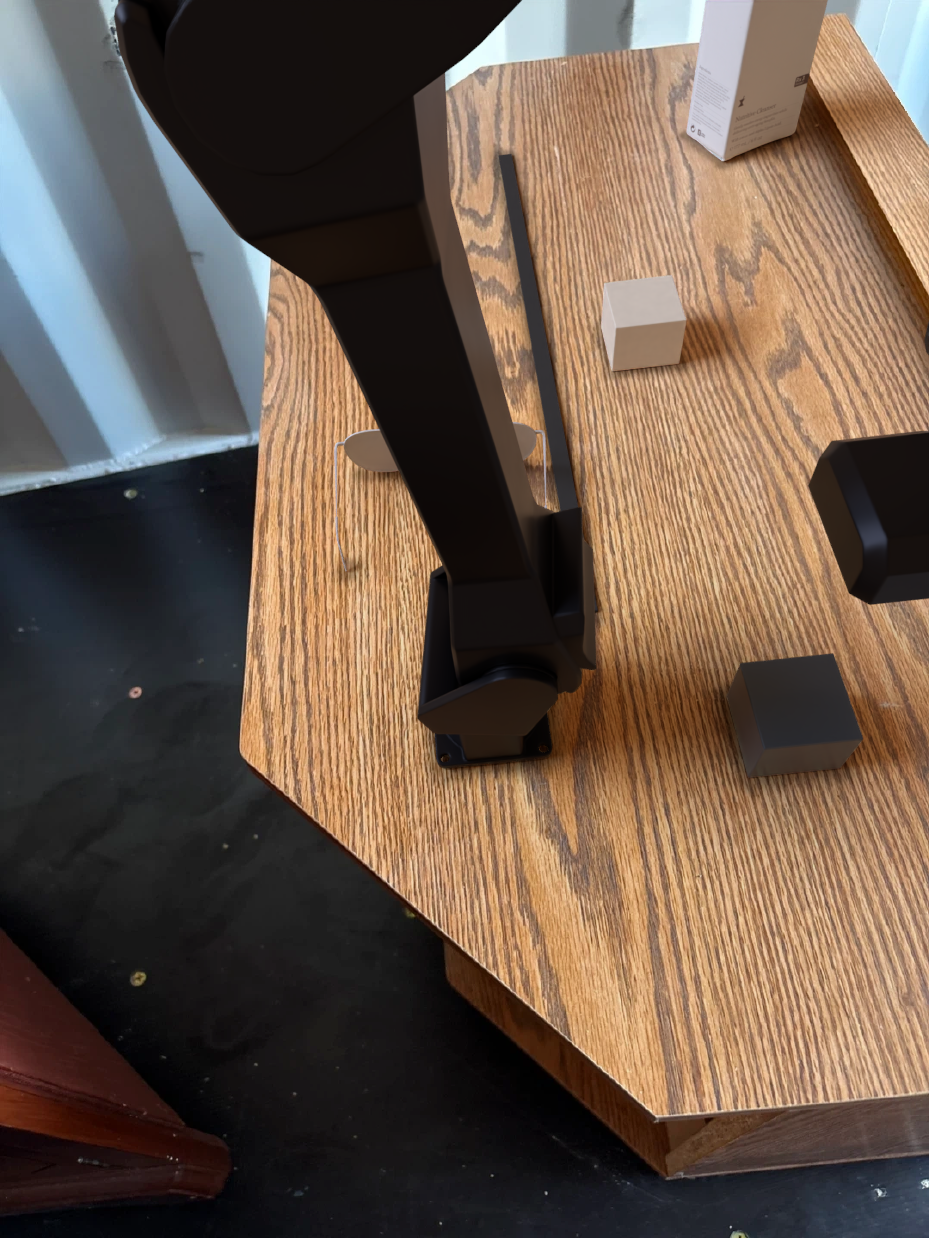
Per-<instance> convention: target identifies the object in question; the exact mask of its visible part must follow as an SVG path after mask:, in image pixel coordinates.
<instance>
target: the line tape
mask: <svg viewBox="0 0 929 1238" xmlns="http://www.w3.org/2000/svg"><path fill="white" fill-rule="evenodd" d="M498 163H499V167H500V172H501V178H502V184H503V190H504V196H505V201H506V206H507V213H508V218H509V219H508V220H509V225H510V229H511V236H512V242H513V247H514V253H515V259H516V265H517V270H518V271H517V272H518V275H519V276H518V277H519V281H520V288H521V294H522V299H523V304H524V311H525V316H526V323H527V327H528V333H529V334H528V335H529V339H530V346H531V350H532V357H533V362H534V367H535V373H536V379H537V385H538V386H537V387H538V391H539V397H540V402H541V408H542V413H543V419H544V425H545V431H546V436H547V443H548V448H549V454H550V459H551V465H552V472H553V476H554V482H555V488H556V495H557V500H558V505H559V511H564V510H568V509H572V508H577V507H579V504H578V499H577V492H576V488H575V482H574V477H573V472H572V467H571V462H570V455H569V451H568V446H567V439H566V435H565V429H564V424H563V418H562V414H561V408H560V402H559V397H558V391H557V386H556V382H555V376H554V371H553V366H552V360H551V355H550V349H549V345H548V338H547V334H546V330H545V329H546V327H545V323H544V318H543V312H542V308H541V302H540V296H539V292H538V286H537V281H536V275H535V271H534V266H533V259H532V255H531V249H530V244H529V239H528V233H527V228H526V223H525V218H524V212H523V206H522V202H521V196H520V191H519V186H518V180H517V175H516V169H515V165H514V159H513V154H512V153H506V154H505V153H504V154H499V155H498ZM583 538H584V539H585V536H584V534H583ZM596 599H597V598H596V594H595V592H594V600H595V613H598V611H599V609H598V604H597V600H596Z"/></svg>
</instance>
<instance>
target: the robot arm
mask: <svg viewBox="0 0 929 1238" xmlns="http://www.w3.org/2000/svg"><path fill="white" fill-rule="evenodd" d="M522 1H523V0H117V5H116V7H115V8H114V14H113V19H114V26H115V33H116V39H117V44H118V50H119V54H120V57H121V59H122V62H123V65H124V67H125V70H126V72H127V76H128V78H129V80H130V83H131V86H132V88H133V90H134V92H135V94H136V96H137V98H138V99H139V101H140V103H141V105H142V106H143V108H144V109H145V111H146V113H147V114H148V115H149V117H150V118H151V120H152V122H153V123H154V125H155V126H156V128H158V130H159V131H160V133H161V134H162V135H163V137H164V138H165V140H166V141H167V143H168V144H169V145H170V146H171V148H172V149H173V150H174V152H175V153H176V155H177V156H178V157H179V159H180V160H181V162H182V163H183V165H184V166H185V167H186V168H187V170H188V171H189V172H190V174H191V175H192V177H193V178H194V179H195V181H196V182H197V183H198V185H199V186H200V187H201V189H202V191H204V193H205V194H206V196H207V197H208V199H209V200H210V201H211V202H212V205H214V207H215V208H216V210H217V211H218V212H219V213H220V215H221V216H222V217H223V219H224V220H225V222H226V224H227V225H228V226H229V227H230V229H231V230H232V231H233V233H234V234H235V235H237V237H239V239H241V240H243V242H245V243H246V244H248V245H250V246H251V247H253V248H254V249H255V250H257V251H258V252H260V253H261V254H263V255H264V256H266V257H267V258H269V259H270V260H272V261H274V262H275V263H276V264H278V265H279V266H280V267H282V268H283V269H285V270H287V271H288V272H290V273H291V274H292V275H294V276H296V277H297V278H298V279H300V280H302V281H303V282H305V283H306V284H307V286H309V288H310V289H311V291H312V292H313V294H314V295H315V296H316V298H317V299H318V301H319V303H320V305H321V307H322V309H323V311H324V313H325V316H326V318H327V320H328V322H329V324H330V326H331V329H332V331H333V333H334V336H335V337H336V339H337V342H338V343H339V346H340V348H341V350H342V353H343V354H344V356H345V359H346V360H347V363H348V366H349V367H350V369H351V372H352V374H353V376H354V378H355V380H356V383H357V385H358V386H359V389H360V391H361V393H362V395H363V397H364V400H365V402H366V404H367V406H368V408H369V410H370V413H371V415H372V417H373V419H374V421H375V424H376V425H377V429H379V430H380V432H381V434H382V436H383V438H384V441H385V443H386V445H387V447H388V449H389V451H390V453H391V456H392V458H393V460H394V462H395V464H396V466H397V469H398V471H397V472H398V473H399V475H400V477H401V479H402V482H403V483H404V486H405V488H406V490H407V493H408V494H409V496H410V498H411V500H412V503H413V506H414V507H415V509H416V511H417V514H418V516H419V518H420V520H421V522H422V524H423V526H424V529H425V531H426V533H427V535H428V538H429V539H430V541H431V544H432V546H433V548H434V551H435V552H436V555H437V557H438V559H439V561H440V564H441V565H440V566H439V567H437V568H435V569H434V570H432V571H431V572H430V574H429V581H428V582H429V583H428V591H427V592H428V593H427V601H426V602H427V603H426V615H425V625H424V635H423V637H424V638H423V648H422V658H421V671H420V680H419V691H418V704H417V713H416V715H417V716H416V719H417V721H419V722H420V723H421V724H422V725H423V726H424V727H426V729H428V730H429V731H430V732H432V733H433V734H434V748H435V759H436V760H435V761H436V763H437V766H438V767H440V768H441V769H455V768H457V769H458V768H464V767H465V768H466V767H475V766H485V765H495V764H506V763H515V762H525V761H534V760H545V759H548V758H549V757H550V756H551V755H552V754H553V741H552V735H551V727H550V720H549V713H548V712H549V711H550V710H551V709H552V708H553V706H554V705H555V704H556V702H557V701H558V700H559V695H561V694H564V693H567V694H573V693H575V692H576V691H577V690H579V688H580V687H581V685H582V683H583V670H588V671H595V670H597V667H598V666H597V639H596V612H595V600H594V593H595V573H594V572H595V569H594V548H593V547H592V546H591V545H590V544H589V543H588V542H587V541H586V540H585V537H584V538H583V535H584V526H583V525H584V524H583V520H584V519H583V506H578V507H577V508H572V509H568V510H564V511H560V510H559V511H553V510H552V509H549V508H548V507H547V508H545V506H542V505H541V504H538V502H537V501H536V500H535V497H534V495H533V491H532V487H531V483H530V480H529V477H528V472H527V470H526V466H525V465H526V464H525V461H524V460H523V458H522V454H521V451H520V447H519V443H518V440H517V436H516V433H515V429H514V425H513V422H514V421H513V418H512V415H511V411H510V407H509V404H508V400H507V397H506V393H505V390H504V386H503V382H502V379H501V376H500V371H499V368H498V365H497V360H496V358H495V353H494V350H493V346H492V342H491V339H490V335H489V332H488V328H487V325H486V324H487V323H486V320H485V318H484V317H485V316H484V314H483V310H482V307H481V302H480V300H479V296H478V292H477V289H476V285H475V281H474V278H473V273H472V271H471V267H470V266H471V265H470V263H469V260H468V256H467V253H466V249H465V246H464V245H465V244H464V242H463V237H462V235H461V230H460V227H459V224H458V219H457V216H456V213H455V209H454V206H453V202H452V196H451V185H450V166H449V165H450V164H449V163H450V162H449V138H448V136H449V135H448V115H447V113H448V111H447V110H448V109H447V87H446V73H447V72H448V71H449V70H451V69H452V68H453V67H455V66H457V64H459V63H460V62H461V61H463V60H464V59H466V58H467V56H469V55H470V54H472V52H473V51H475V50H476V49H477V48H479V46H480V45H482V43H483V42H484V41H485V40H486V39H487V38H488V37H489V36H490V35H491V34H492V33H493V32H494V31H495V30H496V28H498V26H500V24H502V23H503V22H504V20H505V19H506V18H507V17H508V16H509V15H510V14H511V13H512V12H513V11H514V10H515V9H516V7H518V5H519V4H520V3H521V2H522ZM923 343H924V347H925V352H926V354H927V355H928V356H929V321H928V322H927V326H926V330H925V334H924V341H923ZM814 467H815V468H814V471H813V473H812V474H811V477H810V480H809V483H808V484H807V487H808V489H809V492H810V494H811V497H812V501H813V503H814V505H815V508H816V511H817V513H818V516H819V518H820V521H821V523H822V527H823V529H824V531H825V534H826V537H827V540H828V542H829V544H830V548H831V550H832V552H833V555H834V558H835V560H836V564H837V567H838V569H839V571H840V574H841V576H842V579H843V582H844V585H845V587H846V589H847V593H848V594H849V595H851V596H852V597H854V598H856V599H858V600H859V601H861V602H863V603H865V604H866V605H868V606H872V605H882V604H890V603H891V604H892V603H893V604H894V603H900V602H910V601H921V600H928V599H929V430H917V431H916V430H914V431H906V432H898V433H897V432H896V433H889V434H881V435H871V436H863V437H854V438H844V439H836V440H835V439H833V440H830V442H829V444H828V445H827V446H826V448H825V449H824V450H823V452H822V453H821V455H820V456H819V457H818V460H817V463H816V465H815V466H814ZM541 747H545V748H547V749H546V750H544V751H542V750H540V748H541ZM444 757H448V758H449V759H448V760H447V761H443V760H442V759H443V758H444Z"/></svg>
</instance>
